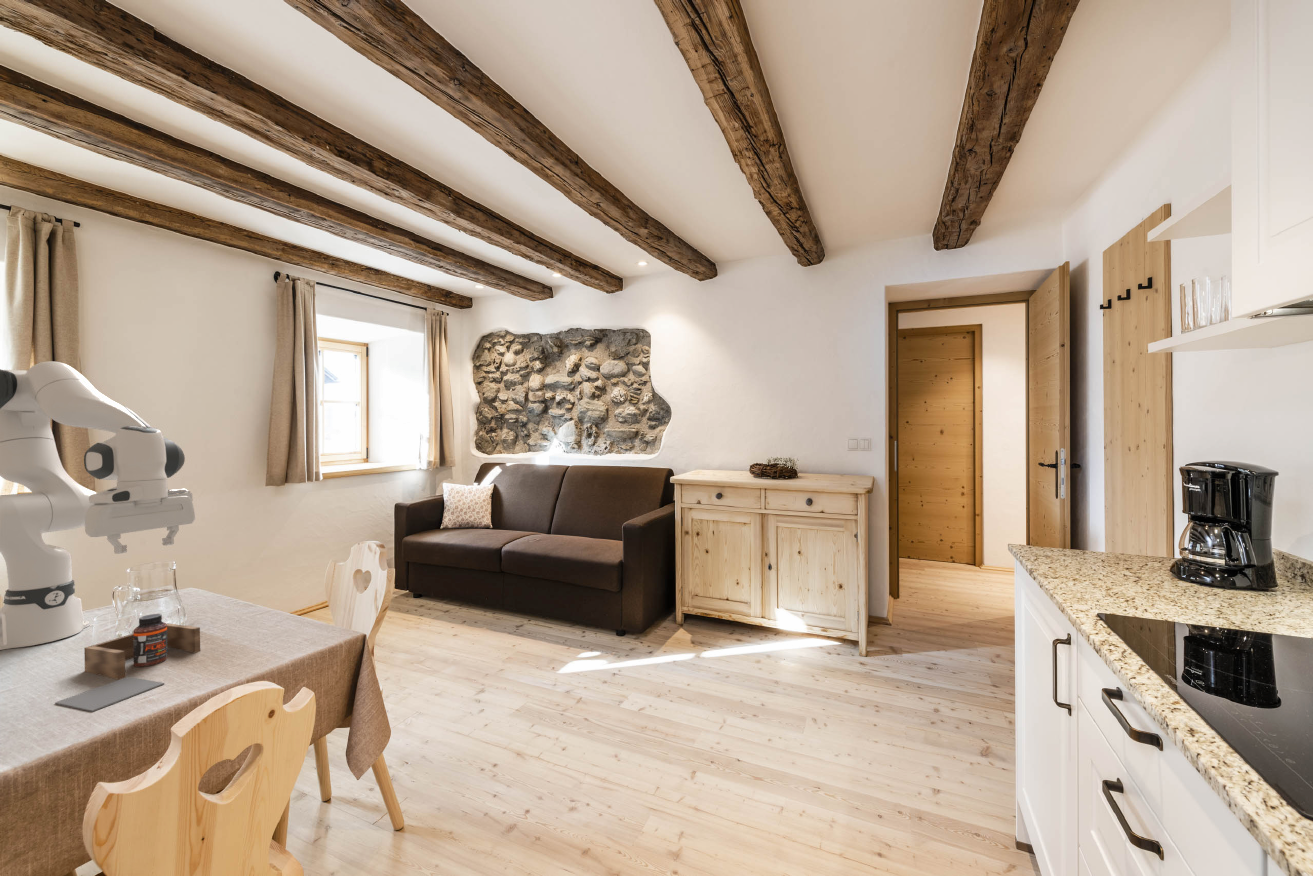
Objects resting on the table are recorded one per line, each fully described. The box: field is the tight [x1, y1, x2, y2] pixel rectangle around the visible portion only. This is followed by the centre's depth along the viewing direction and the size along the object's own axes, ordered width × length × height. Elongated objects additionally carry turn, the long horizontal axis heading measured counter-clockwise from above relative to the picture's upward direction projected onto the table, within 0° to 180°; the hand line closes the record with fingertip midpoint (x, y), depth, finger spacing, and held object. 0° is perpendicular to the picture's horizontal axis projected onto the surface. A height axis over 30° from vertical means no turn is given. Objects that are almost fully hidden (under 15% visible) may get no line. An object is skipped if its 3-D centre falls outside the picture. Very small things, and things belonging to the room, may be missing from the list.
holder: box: [83, 622, 201, 680], centre depth 128 cm, size 12×16×6 cm
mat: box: [54, 676, 165, 713], centre depth 112 cm, size 12×12×1 cm
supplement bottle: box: [132, 613, 168, 668], centre depth 127 cm, size 6×6×11 cm
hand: (145, 548), depth 127 cm, fingers open, 8 cm apart
